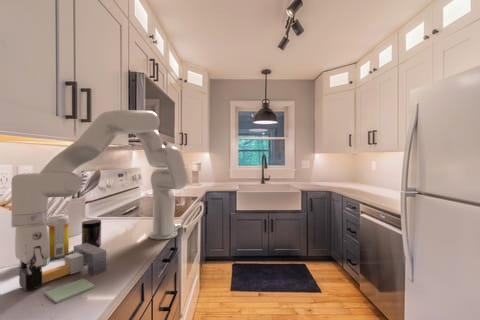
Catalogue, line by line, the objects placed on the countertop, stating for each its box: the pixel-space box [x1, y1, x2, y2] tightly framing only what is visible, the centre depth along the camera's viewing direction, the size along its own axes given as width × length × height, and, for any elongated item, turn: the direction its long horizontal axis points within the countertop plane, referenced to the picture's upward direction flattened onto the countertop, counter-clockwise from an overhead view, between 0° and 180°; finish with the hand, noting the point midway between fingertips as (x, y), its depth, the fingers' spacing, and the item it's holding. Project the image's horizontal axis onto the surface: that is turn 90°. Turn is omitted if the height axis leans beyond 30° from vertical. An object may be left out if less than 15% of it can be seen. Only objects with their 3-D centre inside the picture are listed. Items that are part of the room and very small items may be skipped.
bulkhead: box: [73, 243, 107, 276], centre depth 78 cm, size 4×13×6 cm, turn 57°
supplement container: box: [81, 219, 102, 248], centre depth 96 cm, size 7×7×10 cm
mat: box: [44, 278, 96, 304], centre depth 64 cm, size 9×7×1 cm
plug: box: [19, 252, 85, 291], centre depth 69 cm, size 14×4×5 cm, turn 147°
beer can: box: [47, 212, 70, 260], centre depth 87 cm, size 6×6×15 cm
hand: (30, 284), depth 65 cm, fingers closed on plug, 4 cm apart
